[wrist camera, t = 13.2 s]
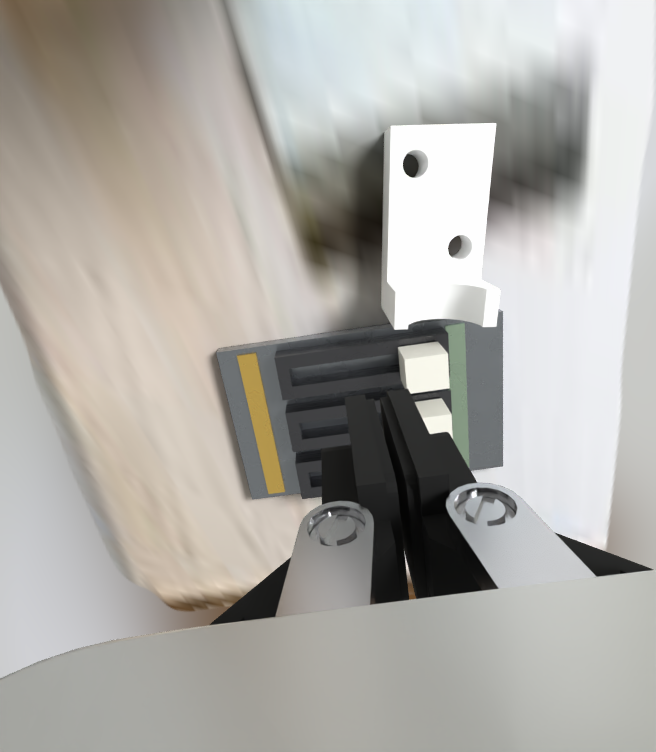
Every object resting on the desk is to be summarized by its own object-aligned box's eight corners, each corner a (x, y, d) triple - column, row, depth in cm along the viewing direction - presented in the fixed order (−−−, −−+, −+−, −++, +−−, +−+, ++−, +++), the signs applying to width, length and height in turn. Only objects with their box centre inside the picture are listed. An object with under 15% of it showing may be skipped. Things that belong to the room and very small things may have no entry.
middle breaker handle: (399, 394, 40) (410, 419, 35) (436, 389, 39) (451, 414, 35) (402, 423, 41) (412, 450, 36) (438, 418, 40) (453, 445, 36)
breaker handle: (394, 340, 38) (404, 359, 33) (432, 335, 38) (448, 353, 33) (397, 371, 39) (407, 394, 34) (434, 366, 39) (449, 388, 34)
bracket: (463, 303, 38) (496, 326, 31) (380, 305, 38) (394, 329, 31) (478, 130, 34) (521, 112, 27) (383, 132, 34) (401, 115, 27)
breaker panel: (218, 348, 39) (211, 359, 36) (497, 308, 38) (511, 316, 36) (253, 492, 45) (249, 511, 42) (498, 459, 44) (510, 477, 41)
